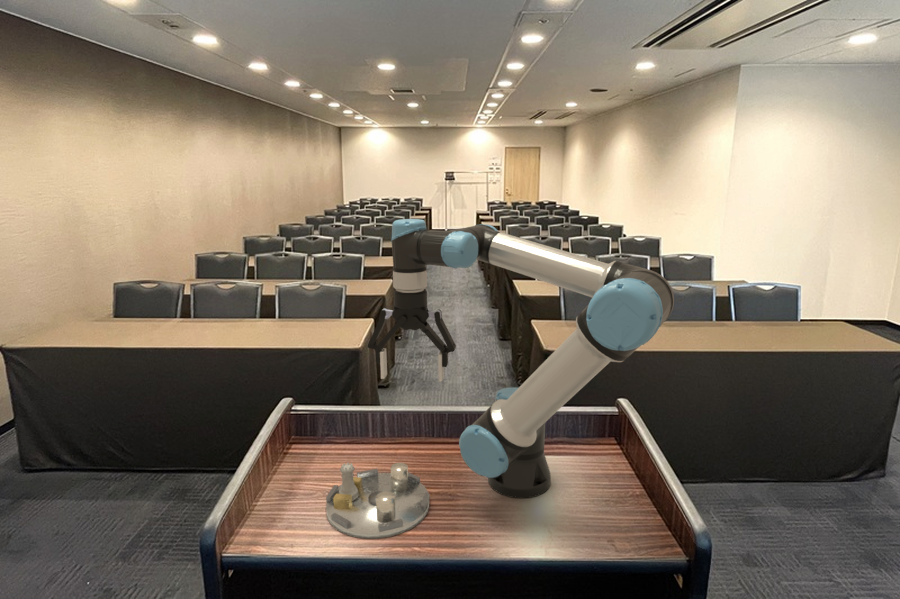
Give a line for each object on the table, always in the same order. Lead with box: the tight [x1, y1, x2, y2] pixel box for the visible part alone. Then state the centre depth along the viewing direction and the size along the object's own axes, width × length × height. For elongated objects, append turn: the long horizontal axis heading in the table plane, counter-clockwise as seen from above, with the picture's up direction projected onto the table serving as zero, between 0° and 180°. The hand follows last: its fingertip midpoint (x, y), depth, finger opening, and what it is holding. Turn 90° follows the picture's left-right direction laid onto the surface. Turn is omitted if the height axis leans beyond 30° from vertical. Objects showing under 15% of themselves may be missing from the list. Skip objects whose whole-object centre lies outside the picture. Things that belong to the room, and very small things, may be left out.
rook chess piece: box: [339, 462, 359, 501], centre depth 125 cm, size 4×4×8 cm
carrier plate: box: [325, 462, 430, 540], centre depth 125 cm, size 23×23×6 cm
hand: (412, 378), depth 129 cm, fingers open, 13 cm apart
